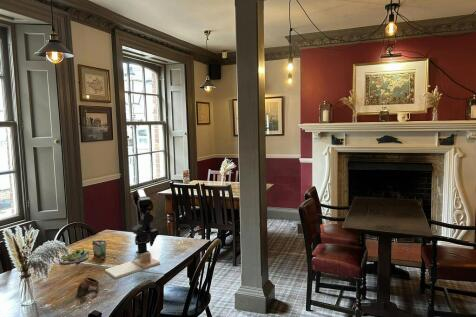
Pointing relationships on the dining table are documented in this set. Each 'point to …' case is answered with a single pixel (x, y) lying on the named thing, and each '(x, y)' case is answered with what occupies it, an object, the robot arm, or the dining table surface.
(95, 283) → the pottery mug
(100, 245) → the food container
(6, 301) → the dining table surface
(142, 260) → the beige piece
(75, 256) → the salad plate
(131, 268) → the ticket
